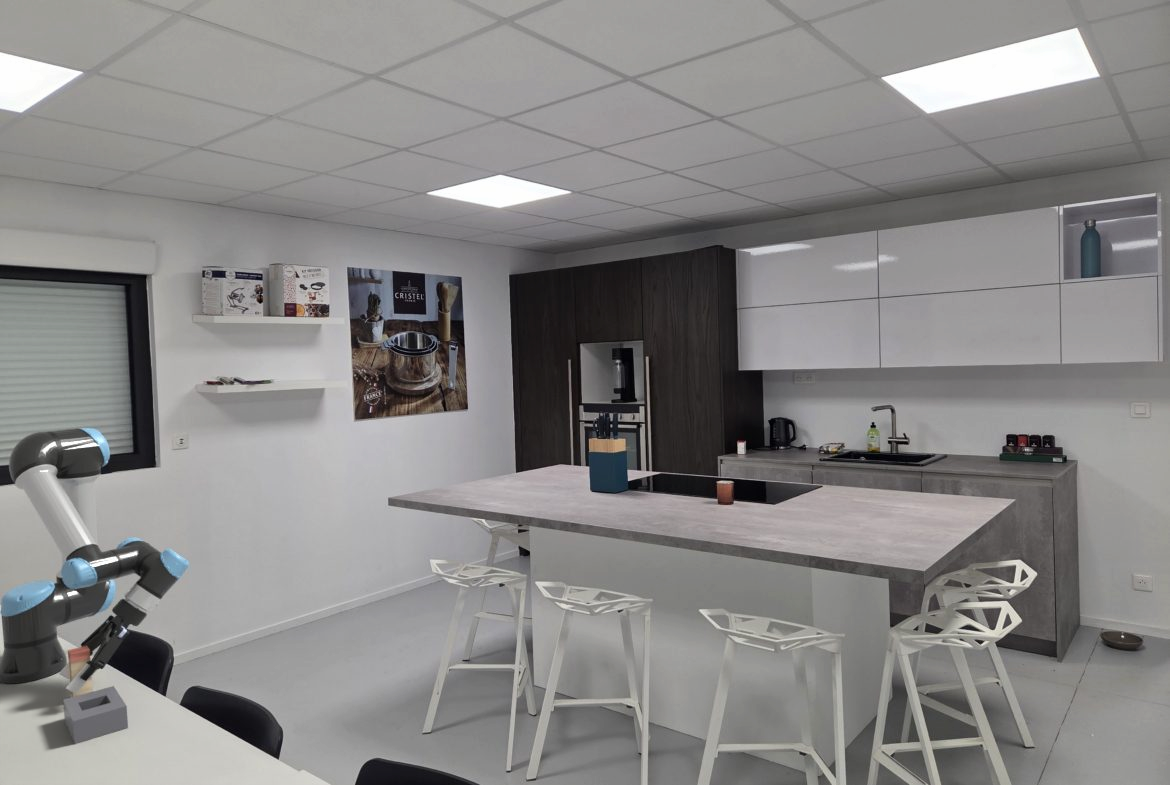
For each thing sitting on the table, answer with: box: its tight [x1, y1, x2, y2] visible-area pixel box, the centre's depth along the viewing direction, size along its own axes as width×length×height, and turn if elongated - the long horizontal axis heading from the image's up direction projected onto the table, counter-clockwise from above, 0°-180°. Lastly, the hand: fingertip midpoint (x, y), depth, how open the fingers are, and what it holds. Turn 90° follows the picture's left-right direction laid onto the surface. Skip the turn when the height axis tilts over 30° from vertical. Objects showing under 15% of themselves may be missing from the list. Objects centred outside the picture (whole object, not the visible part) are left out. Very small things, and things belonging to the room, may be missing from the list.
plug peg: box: [67, 646, 94, 698], centre depth 186 cm, size 4×4×12 cm
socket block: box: [63, 685, 129, 745], centre depth 172 cm, size 15×10×5 cm, turn 41°
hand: (67, 683), depth 184 cm, fingers open, 11 cm apart
